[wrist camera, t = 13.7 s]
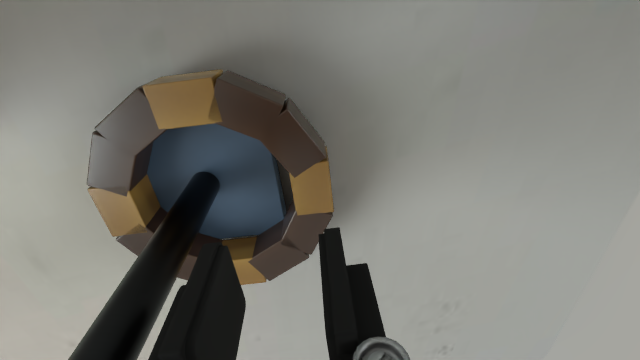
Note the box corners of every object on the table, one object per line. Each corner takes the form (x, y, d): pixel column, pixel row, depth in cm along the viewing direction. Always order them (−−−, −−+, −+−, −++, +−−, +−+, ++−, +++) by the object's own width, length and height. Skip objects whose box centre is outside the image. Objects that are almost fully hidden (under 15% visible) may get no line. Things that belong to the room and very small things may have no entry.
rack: (168, 233, 21) (3, 501, 10) (118, 116, 17) (-250, 330, 6) (288, 220, 21) (264, 477, 10) (265, 99, 17) (179, 285, 6)
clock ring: (157, 271, 21) (143, 295, 19) (68, 88, 15) (37, 98, 14) (338, 251, 21) (340, 274, 19) (316, 57, 15) (317, 63, 13)
